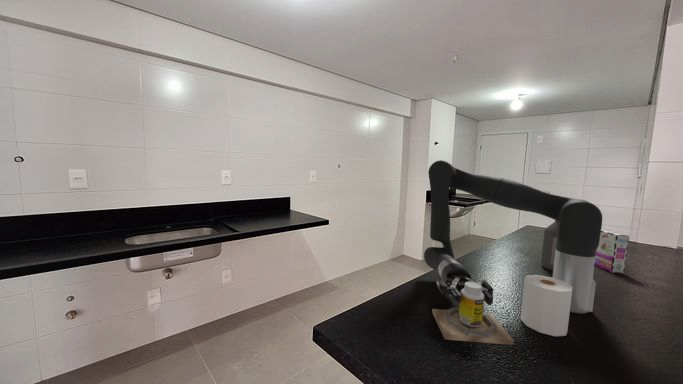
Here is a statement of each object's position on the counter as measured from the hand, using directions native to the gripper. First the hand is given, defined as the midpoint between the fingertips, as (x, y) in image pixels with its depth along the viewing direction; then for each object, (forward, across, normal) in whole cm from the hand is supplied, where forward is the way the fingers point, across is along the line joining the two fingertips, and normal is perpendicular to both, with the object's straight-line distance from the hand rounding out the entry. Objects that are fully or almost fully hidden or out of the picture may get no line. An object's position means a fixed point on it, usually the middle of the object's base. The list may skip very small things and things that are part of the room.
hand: (475, 300), depth 68 cm
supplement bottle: (-2, 0, +7) cm, 8 cm away
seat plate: (-2, 0, +9) cm, 9 cm away
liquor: (-52, +55, +9) cm, 76 cm away
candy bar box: (-56, +79, +9) cm, 97 cm away
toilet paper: (-6, +21, +9) cm, 24 cm away
